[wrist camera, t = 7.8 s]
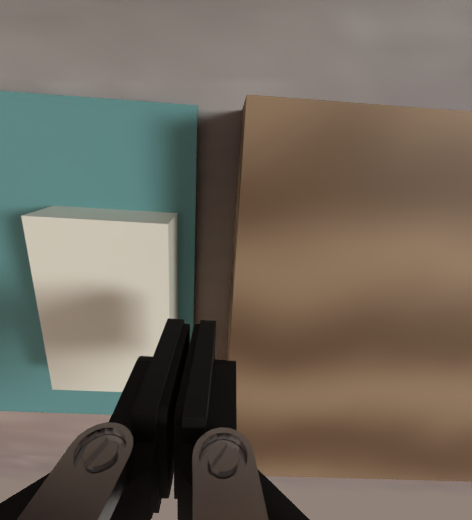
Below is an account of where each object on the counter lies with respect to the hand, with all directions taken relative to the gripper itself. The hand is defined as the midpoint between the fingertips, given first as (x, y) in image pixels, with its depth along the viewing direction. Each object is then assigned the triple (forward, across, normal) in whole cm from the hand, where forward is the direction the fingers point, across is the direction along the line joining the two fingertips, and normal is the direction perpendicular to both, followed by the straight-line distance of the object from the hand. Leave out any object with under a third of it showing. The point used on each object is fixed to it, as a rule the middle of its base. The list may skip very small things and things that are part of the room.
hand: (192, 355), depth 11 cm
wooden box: (+6, -8, 0) cm, 11 cm away
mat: (+6, +7, 0) cm, 9 cm away
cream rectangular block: (+5, +4, +1) cm, 7 cm away
